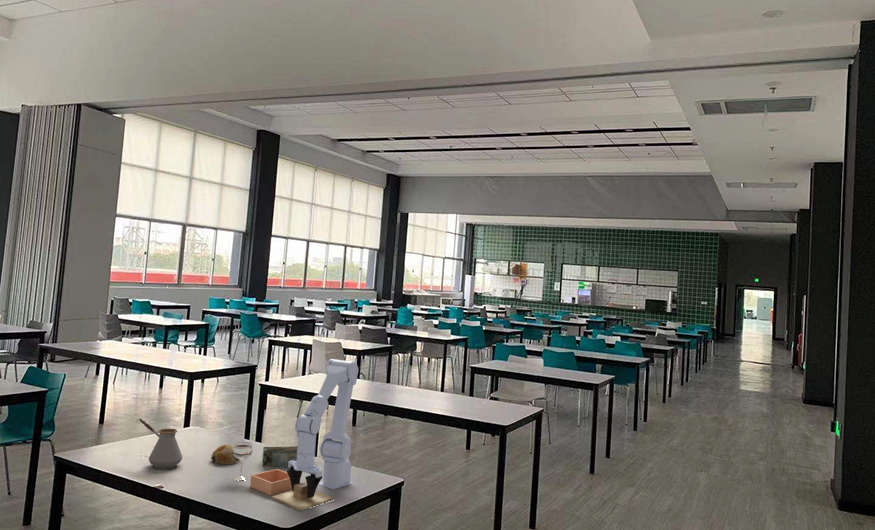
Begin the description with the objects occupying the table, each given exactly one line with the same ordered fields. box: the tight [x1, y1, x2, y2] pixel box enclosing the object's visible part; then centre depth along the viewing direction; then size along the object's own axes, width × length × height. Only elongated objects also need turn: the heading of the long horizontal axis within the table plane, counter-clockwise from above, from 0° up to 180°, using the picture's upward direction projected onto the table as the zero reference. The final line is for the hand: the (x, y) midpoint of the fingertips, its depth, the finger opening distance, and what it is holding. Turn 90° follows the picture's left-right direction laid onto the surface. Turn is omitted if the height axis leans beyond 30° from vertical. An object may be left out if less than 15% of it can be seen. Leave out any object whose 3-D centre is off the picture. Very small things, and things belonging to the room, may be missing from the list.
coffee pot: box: [136, 418, 183, 470], centre depth 235 cm, size 21×12×15 cm, turn 65°
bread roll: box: [210, 444, 240, 465], centre depth 244 cm, size 10×10×8 cm
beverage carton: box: [261, 445, 298, 468], centre depth 246 cm, size 8×19×7 cm, turn 107°
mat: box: [267, 496, 326, 513], centre depth 207 cm, size 16×16×1 cm
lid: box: [271, 481, 334, 510], centre depth 207 cm, size 14×14×5 cm
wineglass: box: [232, 441, 254, 482], centre depth 225 cm, size 7×7×12 cm
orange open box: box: [249, 468, 292, 497], centre depth 216 cm, size 11×11×4 cm
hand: (303, 494), depth 207 cm, fingers open, 7 cm apart
